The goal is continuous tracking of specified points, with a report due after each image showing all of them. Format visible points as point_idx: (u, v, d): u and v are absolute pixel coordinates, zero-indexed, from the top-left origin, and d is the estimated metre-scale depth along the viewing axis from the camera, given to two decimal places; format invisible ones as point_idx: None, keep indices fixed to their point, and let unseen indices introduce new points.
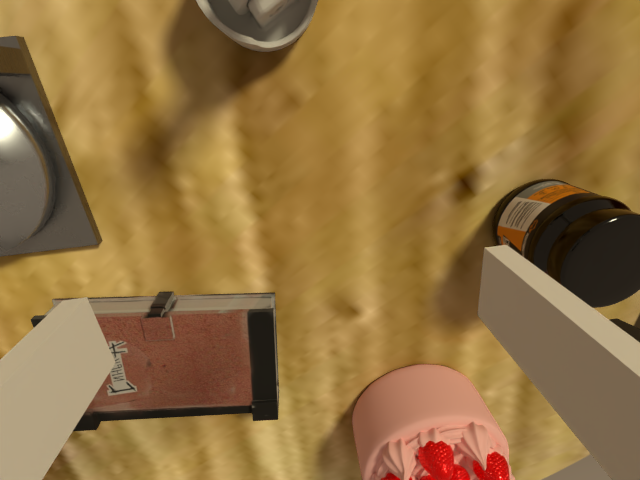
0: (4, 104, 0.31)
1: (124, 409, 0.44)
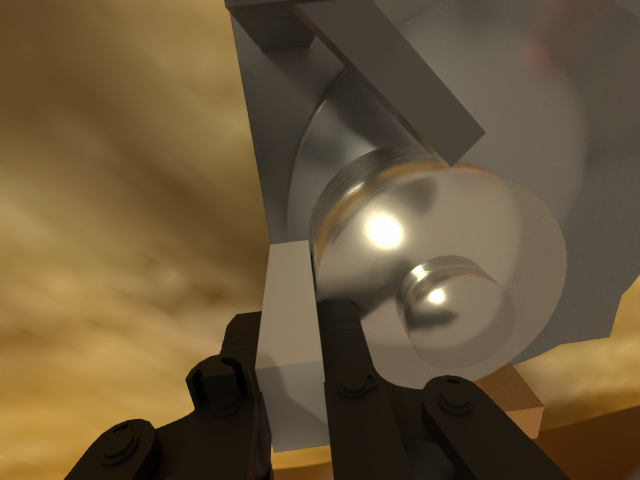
0: None
1: None
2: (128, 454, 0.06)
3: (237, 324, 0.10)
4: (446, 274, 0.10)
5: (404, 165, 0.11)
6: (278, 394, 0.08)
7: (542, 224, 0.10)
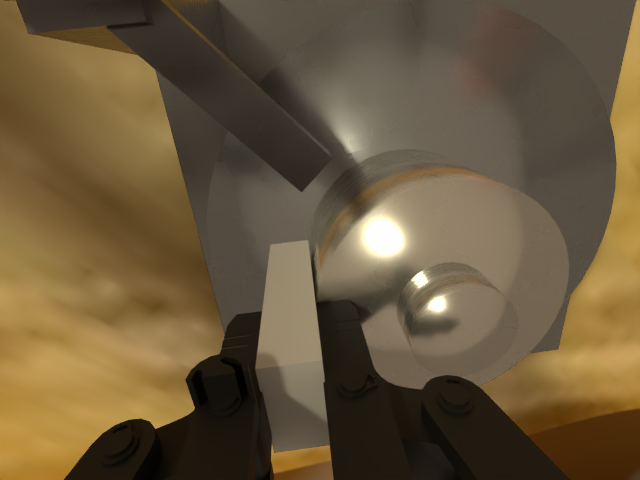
0: None
1: None
2: (128, 454, 0.06)
3: (237, 324, 0.10)
4: (449, 281, 0.10)
5: (410, 171, 0.11)
6: (278, 394, 0.08)
7: (546, 234, 0.10)
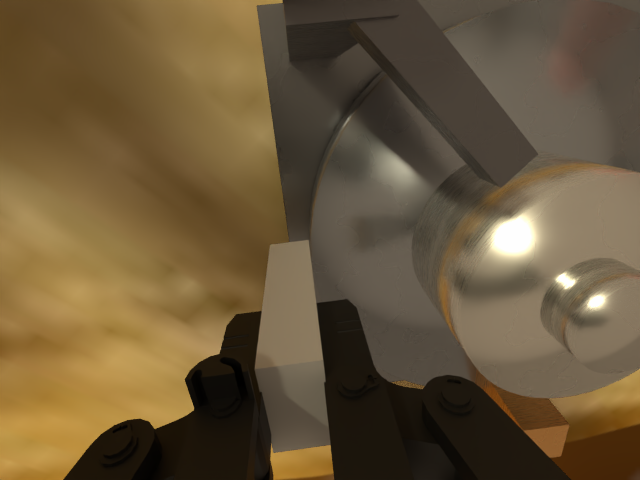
0: None
1: None
2: (128, 454, 0.06)
3: (237, 324, 0.10)
4: (615, 276, 0.10)
5: (553, 167, 0.11)
6: (278, 394, 0.08)
7: None
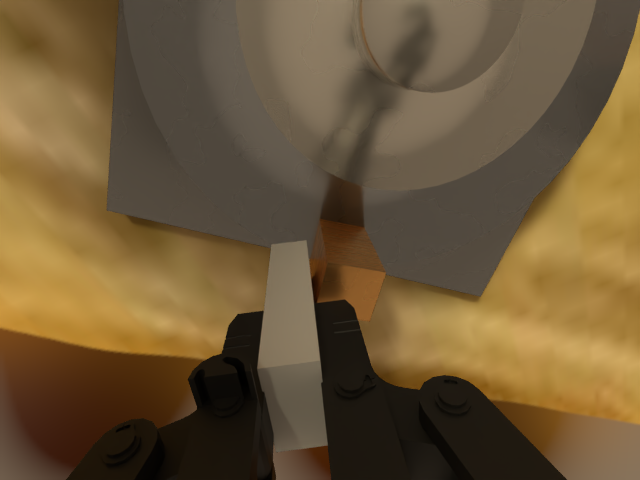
0: None
1: None
2: (131, 454, 0.06)
3: (239, 324, 0.10)
4: None
5: None
6: (280, 394, 0.08)
7: None
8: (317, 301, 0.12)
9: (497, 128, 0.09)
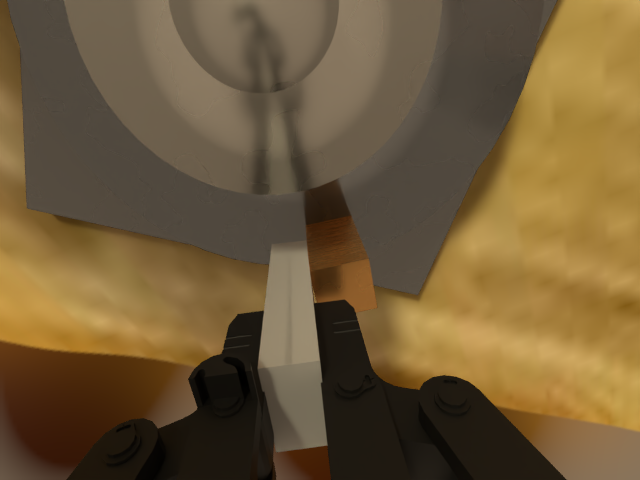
0: None
1: None
2: (131, 454, 0.06)
3: (239, 324, 0.10)
4: None
5: None
6: (280, 393, 0.08)
7: None
8: None
9: (398, 74, 0.08)
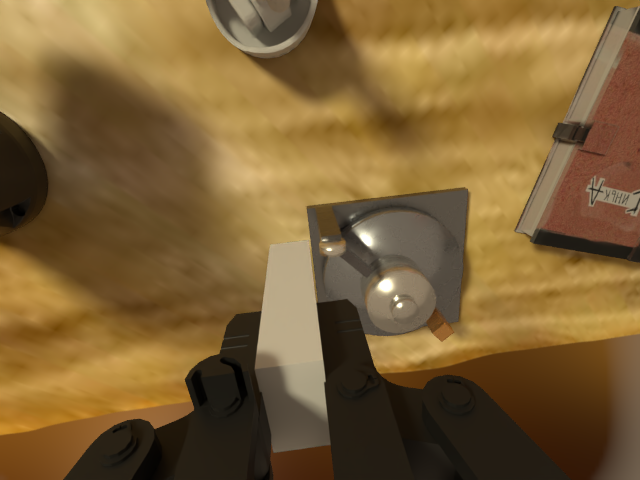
0: (325, 263, 0.45)
1: None
2: (128, 454, 0.06)
3: (237, 324, 0.10)
4: (392, 307, 0.40)
5: (368, 287, 0.41)
6: (278, 394, 0.08)
7: (403, 278, 0.39)
8: (439, 339, 0.45)
9: (429, 295, 0.40)
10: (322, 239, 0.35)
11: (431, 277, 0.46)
